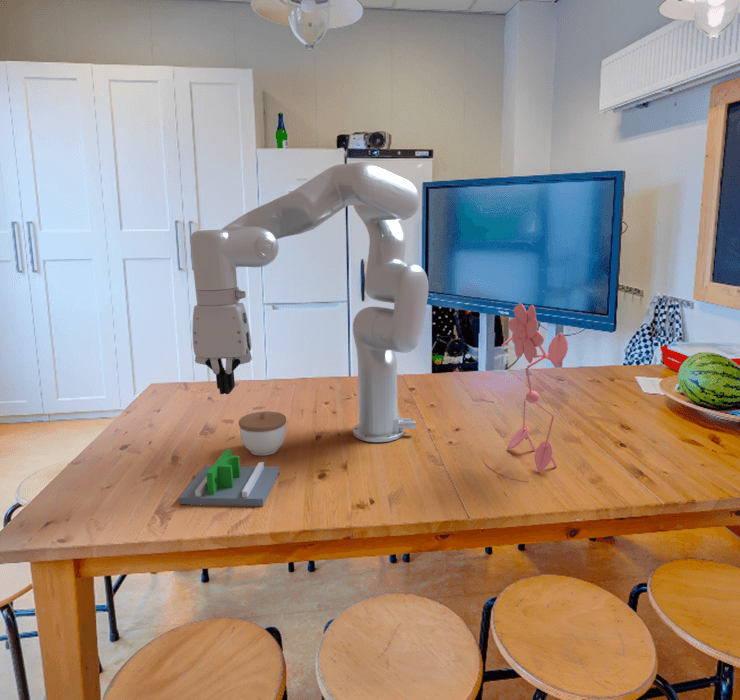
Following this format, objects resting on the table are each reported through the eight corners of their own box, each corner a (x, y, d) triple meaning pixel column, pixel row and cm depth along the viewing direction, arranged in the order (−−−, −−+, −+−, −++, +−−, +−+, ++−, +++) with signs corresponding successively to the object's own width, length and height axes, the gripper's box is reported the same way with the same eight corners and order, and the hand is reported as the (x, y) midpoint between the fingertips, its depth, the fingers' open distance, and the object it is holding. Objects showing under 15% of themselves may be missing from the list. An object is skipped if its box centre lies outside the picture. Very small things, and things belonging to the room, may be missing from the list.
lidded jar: (247, 441, 139) (244, 404, 136) (291, 441, 138) (289, 404, 136) (235, 460, 128) (232, 420, 126) (283, 460, 128) (281, 420, 126)
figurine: (520, 436, 139) (524, 292, 130) (582, 483, 114) (592, 311, 106) (461, 444, 135) (461, 297, 127) (512, 495, 111) (516, 317, 103)
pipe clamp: (227, 495, 109) (225, 473, 108) (208, 495, 109) (206, 473, 108) (245, 469, 120) (243, 449, 119) (227, 469, 120) (226, 448, 119)
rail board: (279, 473, 121) (278, 461, 120) (263, 506, 108) (262, 493, 107) (204, 472, 122) (203, 460, 121) (179, 504, 109) (178, 491, 108)
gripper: (262, 293, 109) (269, 385, 114) (185, 295, 110) (195, 386, 115) (252, 300, 102) (260, 398, 106) (170, 302, 103) (181, 398, 107)
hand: (226, 391), depth 110 cm, fingers closed
